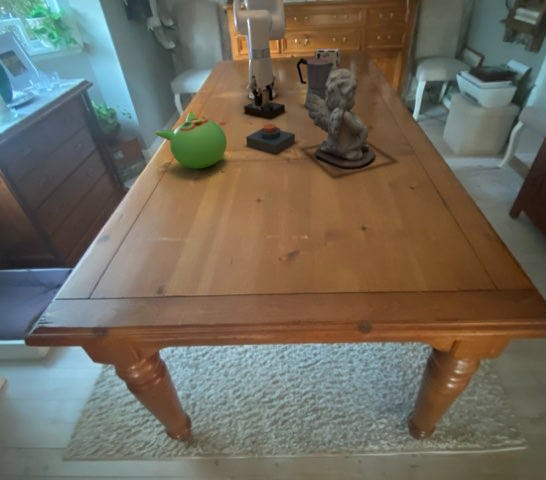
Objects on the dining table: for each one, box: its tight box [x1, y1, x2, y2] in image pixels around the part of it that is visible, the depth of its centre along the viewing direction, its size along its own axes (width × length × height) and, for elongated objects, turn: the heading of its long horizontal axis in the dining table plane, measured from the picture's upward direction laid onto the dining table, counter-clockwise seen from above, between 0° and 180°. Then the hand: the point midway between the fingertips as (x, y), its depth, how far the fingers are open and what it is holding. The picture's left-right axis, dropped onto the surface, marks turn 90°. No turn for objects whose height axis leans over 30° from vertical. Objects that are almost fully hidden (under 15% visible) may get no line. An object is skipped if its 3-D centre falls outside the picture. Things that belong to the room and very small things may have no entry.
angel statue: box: [306, 67, 377, 170], centre depth 105 cm, size 22×22×25 cm
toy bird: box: [155, 110, 228, 170], centre depth 108 cm, size 18×17×15 cm
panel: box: [243, 101, 286, 120], centre depth 145 cm, size 14×10×3 cm
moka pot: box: [296, 53, 334, 108], centre depth 143 cm, size 10×15×20 cm, turn 78°
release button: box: [263, 123, 277, 133], centre depth 119 cm, size 4×4×2 cm
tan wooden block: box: [260, 89, 270, 107], centre depth 142 cm, size 4×4×6 cm
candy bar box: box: [314, 48, 341, 91], centre depth 163 cm, size 11×5×16 cm, turn 68°
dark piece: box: [245, 126, 296, 155], centre depth 121 cm, size 13×11×5 cm
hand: (264, 102), depth 144 cm, fingers open, 6 cm apart
